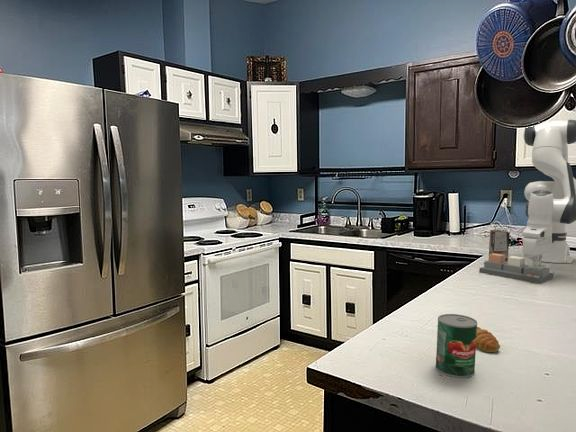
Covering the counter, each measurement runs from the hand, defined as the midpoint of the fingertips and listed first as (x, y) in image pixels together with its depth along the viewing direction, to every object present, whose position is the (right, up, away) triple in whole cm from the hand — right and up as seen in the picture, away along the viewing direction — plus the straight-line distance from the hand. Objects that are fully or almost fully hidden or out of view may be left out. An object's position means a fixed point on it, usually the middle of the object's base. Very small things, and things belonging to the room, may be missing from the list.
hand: (536, 265), depth 173 cm
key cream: (-5, -1, +6) cm, 8 cm away
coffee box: (-3, -3, +27) cm, 27 cm away
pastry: (-53, -12, -67) cm, 86 cm away
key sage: (0, -4, 0) cm, 4 cm away
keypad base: (-5, -5, +7) cm, 10 cm away
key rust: (-10, 0, +12) cm, 16 cm away
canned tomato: (-65, -13, -81) cm, 104 cm away
